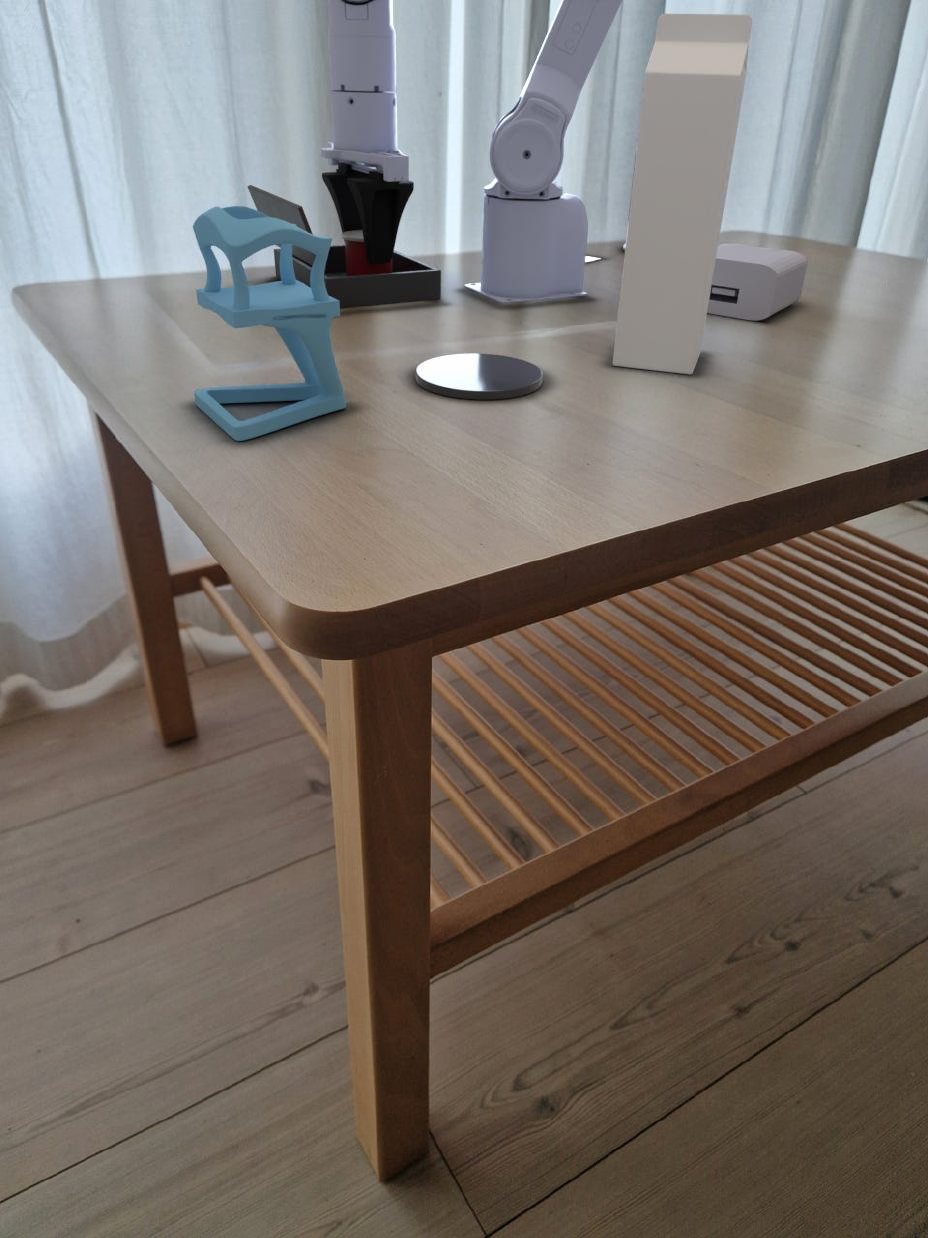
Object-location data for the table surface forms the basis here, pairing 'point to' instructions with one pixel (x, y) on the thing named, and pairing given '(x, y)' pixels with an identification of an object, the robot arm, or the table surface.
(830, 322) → the table surface
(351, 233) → the cylinder
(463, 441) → the table surface
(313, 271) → the chair
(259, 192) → the flap
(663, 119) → the milk
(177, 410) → the table surface
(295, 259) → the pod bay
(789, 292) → the charger
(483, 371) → the coaster
